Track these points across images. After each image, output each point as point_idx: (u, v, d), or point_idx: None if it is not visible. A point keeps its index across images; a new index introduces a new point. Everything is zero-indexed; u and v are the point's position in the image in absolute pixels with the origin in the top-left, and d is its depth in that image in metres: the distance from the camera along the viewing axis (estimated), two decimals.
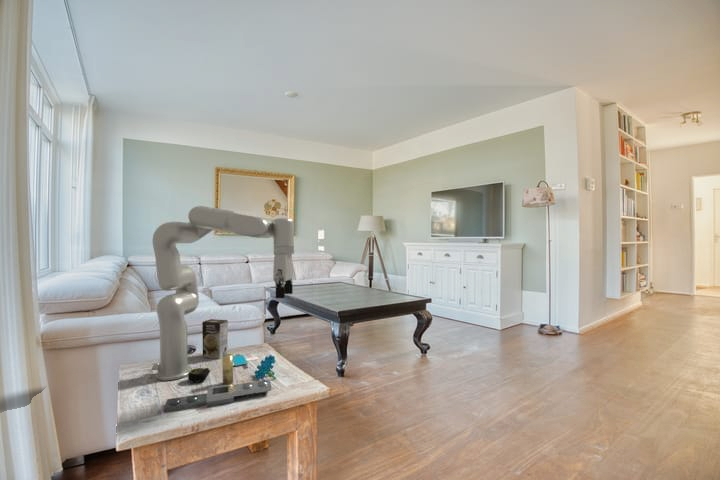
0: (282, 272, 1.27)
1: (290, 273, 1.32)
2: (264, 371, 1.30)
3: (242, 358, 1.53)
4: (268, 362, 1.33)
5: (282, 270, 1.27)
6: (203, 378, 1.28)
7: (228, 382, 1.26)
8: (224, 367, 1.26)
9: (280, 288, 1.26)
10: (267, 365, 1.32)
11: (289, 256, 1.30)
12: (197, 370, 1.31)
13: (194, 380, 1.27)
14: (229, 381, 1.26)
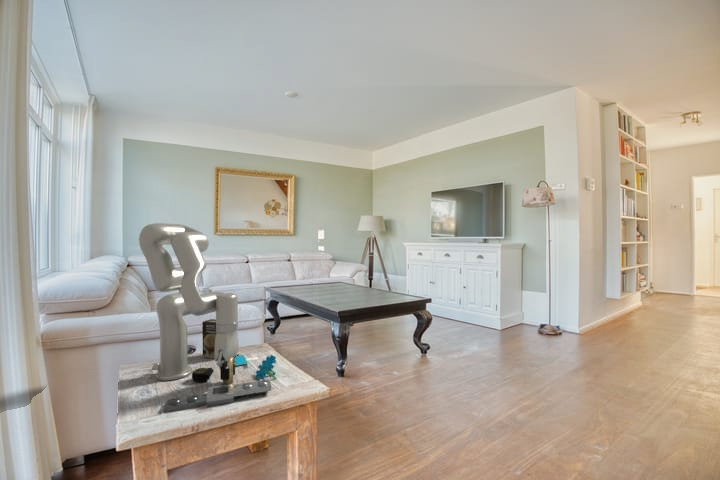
0: (223, 352, 1.23)
1: (234, 350, 1.28)
2: (265, 371, 1.30)
3: (242, 358, 1.53)
4: (269, 362, 1.33)
5: (223, 350, 1.23)
6: (207, 378, 1.28)
7: (228, 382, 1.26)
8: None
9: (224, 370, 1.25)
10: (268, 365, 1.32)
11: (232, 333, 1.26)
12: (201, 370, 1.31)
13: (198, 380, 1.28)
14: (229, 381, 1.26)
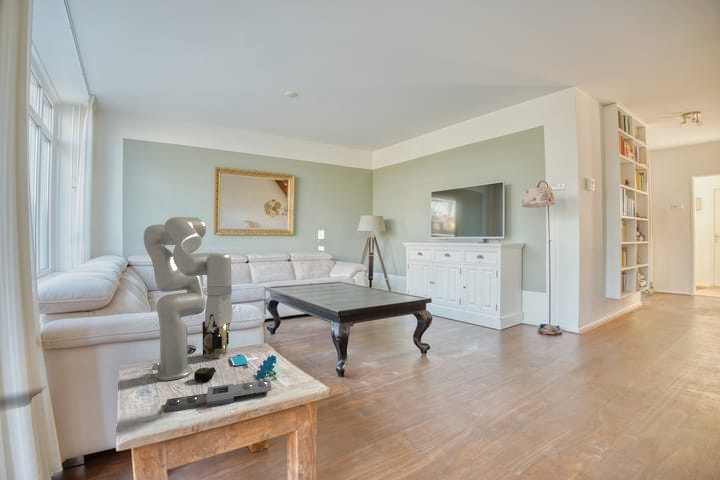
0: (215, 317, 1.10)
1: (227, 317, 1.15)
2: (265, 371, 1.30)
3: (242, 358, 1.53)
4: (270, 362, 1.33)
5: (215, 315, 1.10)
6: (209, 377, 1.28)
7: (221, 352, 1.13)
8: None
9: (217, 338, 1.12)
10: (268, 365, 1.32)
11: (225, 298, 1.14)
12: (203, 369, 1.32)
13: (200, 379, 1.28)
14: (222, 351, 1.13)
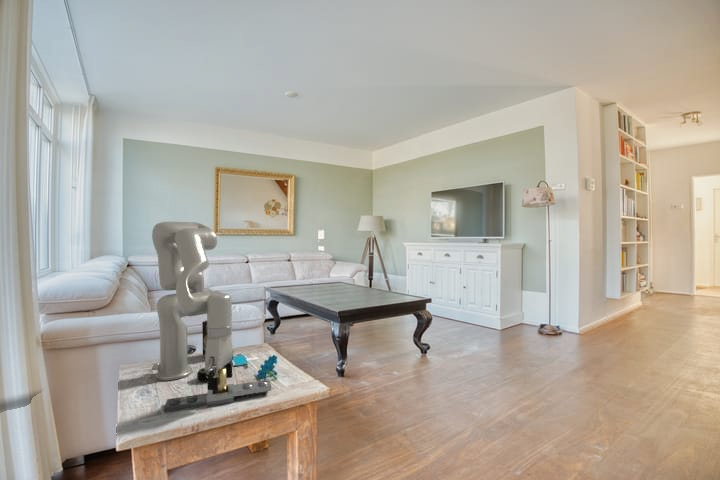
0: (215, 360, 1.09)
1: (227, 357, 1.15)
2: (266, 371, 1.30)
3: (242, 358, 1.53)
4: (270, 362, 1.33)
5: (215, 357, 1.09)
6: None
7: None
8: None
9: (212, 379, 1.09)
10: (269, 365, 1.32)
11: (225, 338, 1.13)
12: None
13: (203, 379, 1.28)
14: None
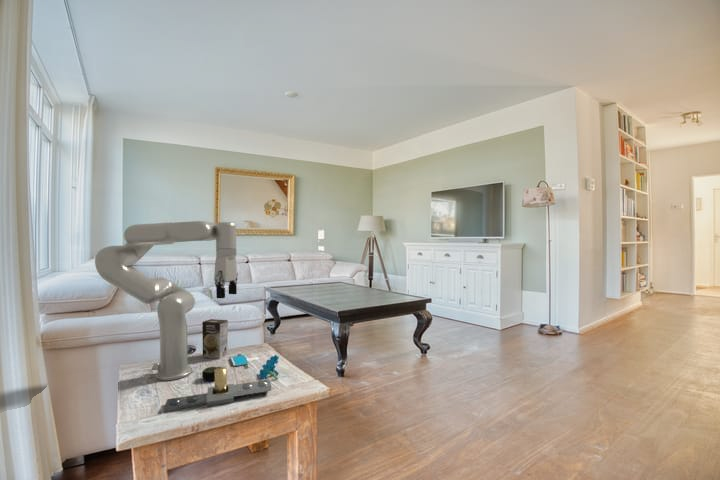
0: (222, 273, 1.33)
1: (232, 274, 1.38)
2: (267, 371, 1.30)
3: (243, 358, 1.52)
4: (272, 362, 1.33)
5: (222, 271, 1.33)
6: None
7: None
8: (216, 382, 1.13)
9: (220, 289, 1.32)
10: (270, 365, 1.32)
11: (231, 258, 1.37)
12: (211, 369, 1.32)
13: (208, 378, 1.28)
14: None
